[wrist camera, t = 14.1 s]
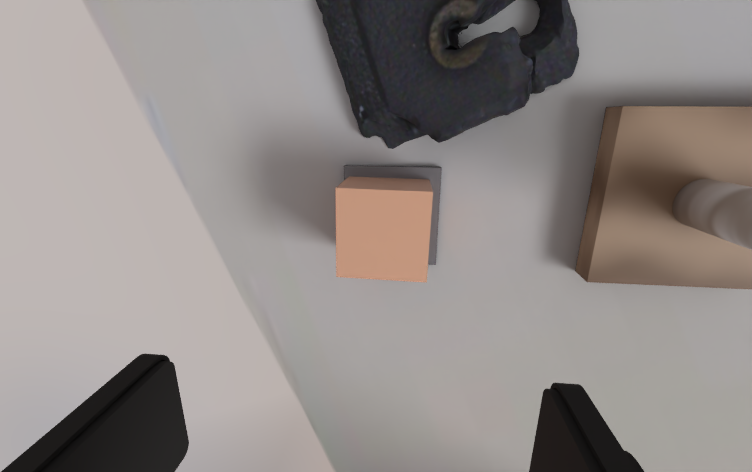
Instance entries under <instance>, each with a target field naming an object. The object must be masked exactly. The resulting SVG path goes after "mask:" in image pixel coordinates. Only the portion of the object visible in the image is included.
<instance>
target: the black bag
mask: <svg viewBox="0 0 752 472" xmlns="http://www.w3.org/2000/svg"><path fill="white" fill-rule="evenodd" d="M513 1H515V0H316V2H317V4H318V7H319V9H320V11H321V13H322V14H323V23H324V25H325V27H326V30H327V33H328V37H329V41H330V44H331V46H332V49H333V51H334V54H335V56H336V59H337V63H338V66H339V69H340V71H341V74H342V77H343V79H344V82H345V86H346V90H347V93H348V95H349V97H350V101H351V105H352V110H353V113H354V115H355V117H356V119H357V122H358V126H359V129H360V132H361V134H362V135H363V136H364V137H366V138H370V137H371V136H374V135H377V136H379V137H382V138H383V140H384V141H385V142H386V144H387V146H388V148H392V149H393V148H395V147H397V146H399V145H401V144H402V143H404V142H406V141H409V140H412V139H415V138H418V137H421V136H424V135H429V136H430V137H431V138H432V139H434V140H436V141H437V142H438V143H439V142H442V141H446V140H448V139H450V138H452V137H454V136H456V135H458V134H460V133H462V132H464V131H465V130H468V129H470V128H472V127H475V126H478V125H480V124H482V123H485V122H487V121H488V120H490V119H492V118H495V117H498V116H502V115H509V114H510V113H512V112H514V111H516V110H518V109H520V108H522V107H524V106H525V104H526V103H527V101H528V100H529V96H530V93H531V94H532V93H540V92H543V91H544V90H545V88H546V87H548V86H550V85H554V84H558V83H559V82H561V81H562V79H567V78H569V77H571V76H572V74H573V72H574V70H575V67H576V64H577V61H578V57H579V48H578V46H577V28H576V23H575V20H574V17H573V15H572V13H571V10H570V6H569V3H568V0H535V1H536V2H537V3H538V5H539V7H540V17H539V20H538V23H537V26H536V28H535V29H534V30H533V31H532V32H531V33H530V34H527V35H524V36H522V37H520V38H519V35H518V32H517V30H516V29H515V28H514V27H511V28H510V29H508V30H506V31H505V32H502V33H499V32H492V33H489V34H486V35H484V36H481V37H478V38H476V39H473V40H472V41H470V42H469V43H467V44H466V45H465V46H463V47H462V48H460V49H459V47H458V34H459V33H460V32H461V31H462V30H464V29H467V28H468V26H469V25H470V24H472V23H474V24H481V23H483V22H485V21H486V20H488V19H489V18H491V17H493V16H494V15H496V14H497V13H498V12H500V11H501V10H503V9H504V8H505V7H507V6H508V5H509V4H511V3H512V2H513ZM461 34H462V33H461Z"/></svg>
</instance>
